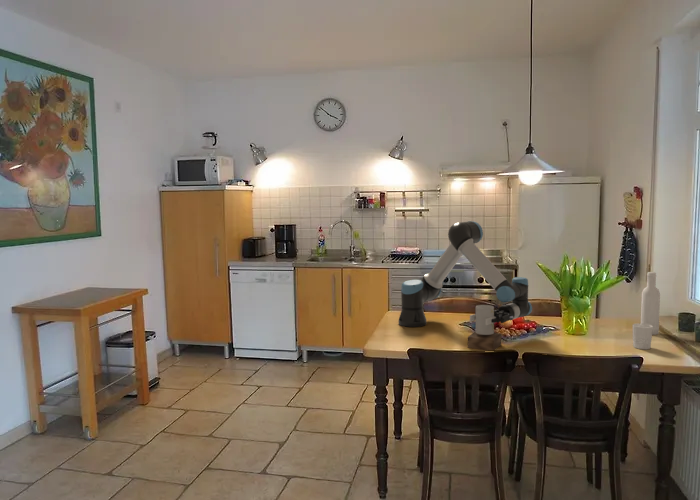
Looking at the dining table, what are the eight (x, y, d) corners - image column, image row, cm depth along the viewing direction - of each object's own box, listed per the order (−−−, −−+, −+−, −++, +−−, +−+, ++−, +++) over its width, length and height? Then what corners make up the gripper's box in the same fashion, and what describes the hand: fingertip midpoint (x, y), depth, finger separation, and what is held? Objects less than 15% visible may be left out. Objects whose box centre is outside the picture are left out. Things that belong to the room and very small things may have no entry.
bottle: (643, 329, 262) (645, 270, 259) (660, 332, 256) (663, 272, 253) (637, 333, 256) (640, 272, 253) (655, 335, 251) (658, 274, 247)
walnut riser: (467, 347, 238) (467, 336, 237) (476, 341, 248) (476, 330, 247) (493, 351, 232) (493, 340, 231) (501, 344, 242) (501, 333, 241)
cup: (494, 335, 234) (494, 308, 233) (475, 334, 236) (476, 308, 235) (493, 330, 242) (493, 305, 241) (475, 329, 244) (475, 304, 243)
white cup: (627, 345, 236) (628, 323, 235) (644, 344, 237) (645, 323, 236) (639, 350, 228) (639, 328, 227) (656, 349, 229) (656, 327, 228)
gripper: (527, 323, 242) (497, 332, 228) (489, 316, 258) (460, 324, 244) (527, 308, 241) (497, 315, 227) (490, 301, 257) (460, 308, 243)
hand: (478, 320), depth 235 cm, fingers closed on cup, 8 cm apart
